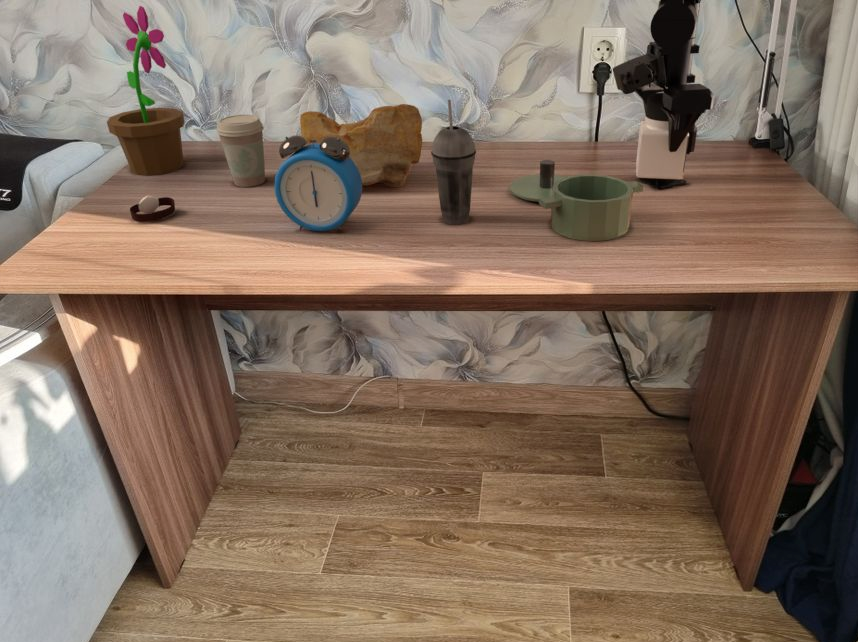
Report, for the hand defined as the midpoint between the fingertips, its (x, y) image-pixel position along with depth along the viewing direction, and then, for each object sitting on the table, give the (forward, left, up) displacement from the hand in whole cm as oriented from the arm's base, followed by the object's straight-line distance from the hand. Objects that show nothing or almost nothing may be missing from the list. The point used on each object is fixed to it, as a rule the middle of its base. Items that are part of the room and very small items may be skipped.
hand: (662, 143), depth 114 cm
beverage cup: (+29, -15, -13) cm, 35 cm away
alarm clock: (+50, -22, -13) cm, 56 cm away
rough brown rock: (+36, -41, -13) cm, 56 cm away
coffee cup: (+58, -50, -13) cm, 78 cm away
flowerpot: (+74, -68, -13) cm, 101 cm away
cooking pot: (+10, -3, -13) cm, 17 cm away
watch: (+76, -39, -13) cm, 87 cm away
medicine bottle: (0, 0, -5) cm, 5 cm away
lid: (+9, -20, -12) cm, 25 cm away
